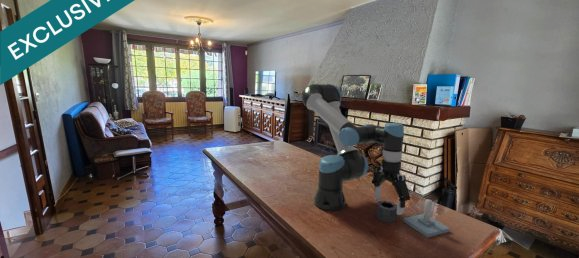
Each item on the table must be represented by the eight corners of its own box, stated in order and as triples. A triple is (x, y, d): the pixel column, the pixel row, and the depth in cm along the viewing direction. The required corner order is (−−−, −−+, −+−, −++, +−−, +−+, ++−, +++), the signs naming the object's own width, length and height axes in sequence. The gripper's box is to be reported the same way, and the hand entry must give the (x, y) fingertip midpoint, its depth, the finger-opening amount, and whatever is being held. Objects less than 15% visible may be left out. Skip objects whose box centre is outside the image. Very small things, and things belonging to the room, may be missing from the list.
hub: (385, 224, 105) (386, 210, 104) (372, 214, 112) (373, 202, 111) (399, 220, 108) (401, 207, 106) (386, 211, 115) (387, 199, 114)
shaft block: (427, 237, 96) (431, 210, 94) (403, 221, 107) (406, 196, 105) (449, 231, 100) (453, 205, 98) (424, 216, 111) (427, 192, 109)
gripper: (423, 167, 95) (418, 219, 98) (378, 151, 118) (375, 194, 121) (408, 169, 92) (403, 222, 96) (365, 153, 115) (362, 196, 119)
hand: (388, 206), depth 108 cm, fingers open, 13 cm apart
